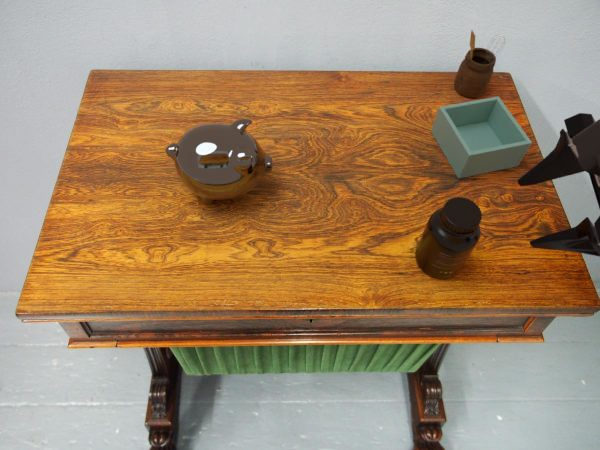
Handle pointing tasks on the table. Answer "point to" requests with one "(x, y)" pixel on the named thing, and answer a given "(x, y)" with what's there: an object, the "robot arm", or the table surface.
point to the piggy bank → (220, 160)
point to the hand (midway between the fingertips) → (524, 212)
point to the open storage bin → (479, 137)
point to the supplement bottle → (449, 238)
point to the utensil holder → (475, 70)
